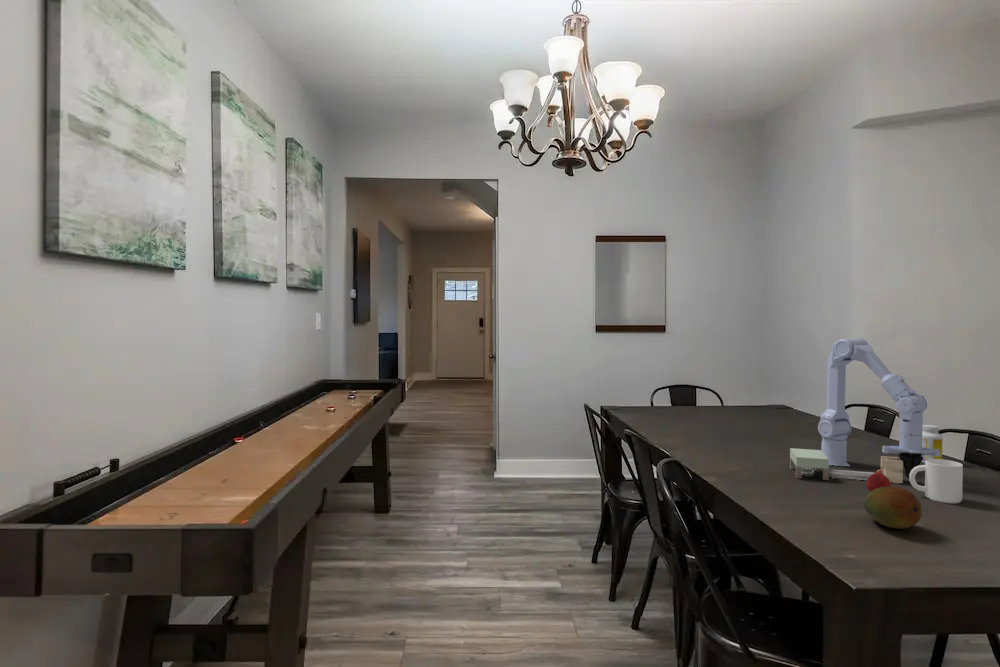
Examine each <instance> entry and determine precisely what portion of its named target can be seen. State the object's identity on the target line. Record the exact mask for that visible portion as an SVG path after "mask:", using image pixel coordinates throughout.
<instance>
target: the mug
mask: <svg viewBox="0 0 1000 667" xmlns="http://www.w3.org/2000/svg"><path fill="white" fill-rule="evenodd" d="M963 468H964V465H963V464H962V463H960V462H957V461H954V460H948V459H942V460H941V459H927V460H926V461H925V463H924V464H921V465H920V464H919V466H916V467H914V468H913V469H912V470H911V472H910V475H909V478H908V479H909V482H910V485H911V486H912V487H913V488H914V489H916V490H917V491H919V492H924V495H925V498H927V499H928V498H929V499H928V500H931V501H934V502H937V501H938V503H943V504H959V503H961V502H962V501H963V484H964V483H963V481H964V480H963V479H964V478H963V476H964V475H963V474H964V472H963V471H964V470H963ZM923 471H924V485H920V484H918V483H917V482H916V475H917V473H918V472H923Z"/></svg>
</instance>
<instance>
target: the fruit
mask: <svg viewBox="0 0 1000 667" xmlns="http://www.w3.org/2000/svg"><path fill="white" fill-rule="evenodd" d="M863 506H864V509H865V511H866V513H867V514H868V515H869V516H870V517H871V518H872V520H874V521H876V522H877V523H879V524H880V525H882V526H885V527H888V528H891V529H898V530H900V529H903V530H904V529H909V528H912V527H914V526H915V525H917V524H918V522H919V521H920V520H921V518H922V511H923V508H922V504H921V502H920V500H919V498H918V497H917V496H916V495H915V494H913V492H911V491H910V490H908V489H906V488H903V487H900V486H892V485H891V486H887V487H880V488H877V489H875V490H873V491H871V492H869V493H868V494H867V495H866V496H865V498H864V500H863Z"/></svg>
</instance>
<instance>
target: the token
mask: <svg viewBox="0 0 1000 667" xmlns="http://www.w3.org/2000/svg"><path fill="white" fill-rule="evenodd" d="M801 475H808V476H807V477H813V476H812V475H815V468H808V467H802V469H801Z"/></svg>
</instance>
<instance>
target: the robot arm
mask: <svg viewBox="0 0 1000 667" xmlns="http://www.w3.org/2000/svg"><path fill="white" fill-rule="evenodd" d="M828 355H829V356H828V358H827V364H826V365H827V367H826V369H827V370H826V375H827V376H826V409H825V411H824V412H822V414H821V415H820V421H819V422H818V425H817V431H818V432H819V434H820V435H821V438H822V440H821V446H820V447H821V448H820V450H821V451H822V453H823V454H824V455H825V456H826V457H827V458H828V459H829V466H832V465H833V466H834V467H846V466H847V467H848V468H849V467H851V465H850V464H849V463H848V462H847V444H848V443H847V439H848V436H849V435H850V434H851V432H852V427H853V426H852V424H851V421H850V415H849V414H848V413H847V412H846V374H847V373H846V372H847V365H849V364H850V363H851V362H853V361H857V362H861V363H864V364H865V365H866V367H868V368H869V369H870V370H871V372H873V374H875V376H877V377H878V378H879V379H880V381H881V382H880V383H881V384H880V385H881V387H882V389H884V391H885V392H886V393H887V394H888V395H889V396H890V398H892V400H894V402H895V404H894V405H895V408H896V410H897V411H898V413H899V414H898V415H899V436H898V438H899V444H898V445H882V447H881V452H882V453H883V454H897V455H898V456H899V457H898V458H899V459H901V460H902V461H903V469H904V472H905V477H906V478H908V479H909V475H910V472H911V470H912V469H913V468H914V467H916V466H919V465H920V464H921V463H922V460H923V457H922V455H929V456H937V457H940V450H938V449H931V448H922V432H923V425H924V423H923V420H924V419H923V418H924V416H923V415H924V412H925V411H926V410H927V408H928V401H927V400H926V398H925V396H924V395H922V394H919V393H916V391H915V390H914V389H912V388H911V387H910V386H909V385H908V384H907V383H906V382H905V378H904V377H903V376H900V375H899V374H893V373H892V372H891V371H890V370H889V369H888V367H887V366H886V365H885V364H884V362H883V361H882V360H881V359H880V357H879V356H878V354H876V353H875V351H874V348H873V346H872V345H870V344H869V343H868V342H867V339H866V340H865V339H863V338H841V339H838V340H836V341H835V342H834V343H832V344H831V351H830V354H828Z"/></svg>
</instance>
